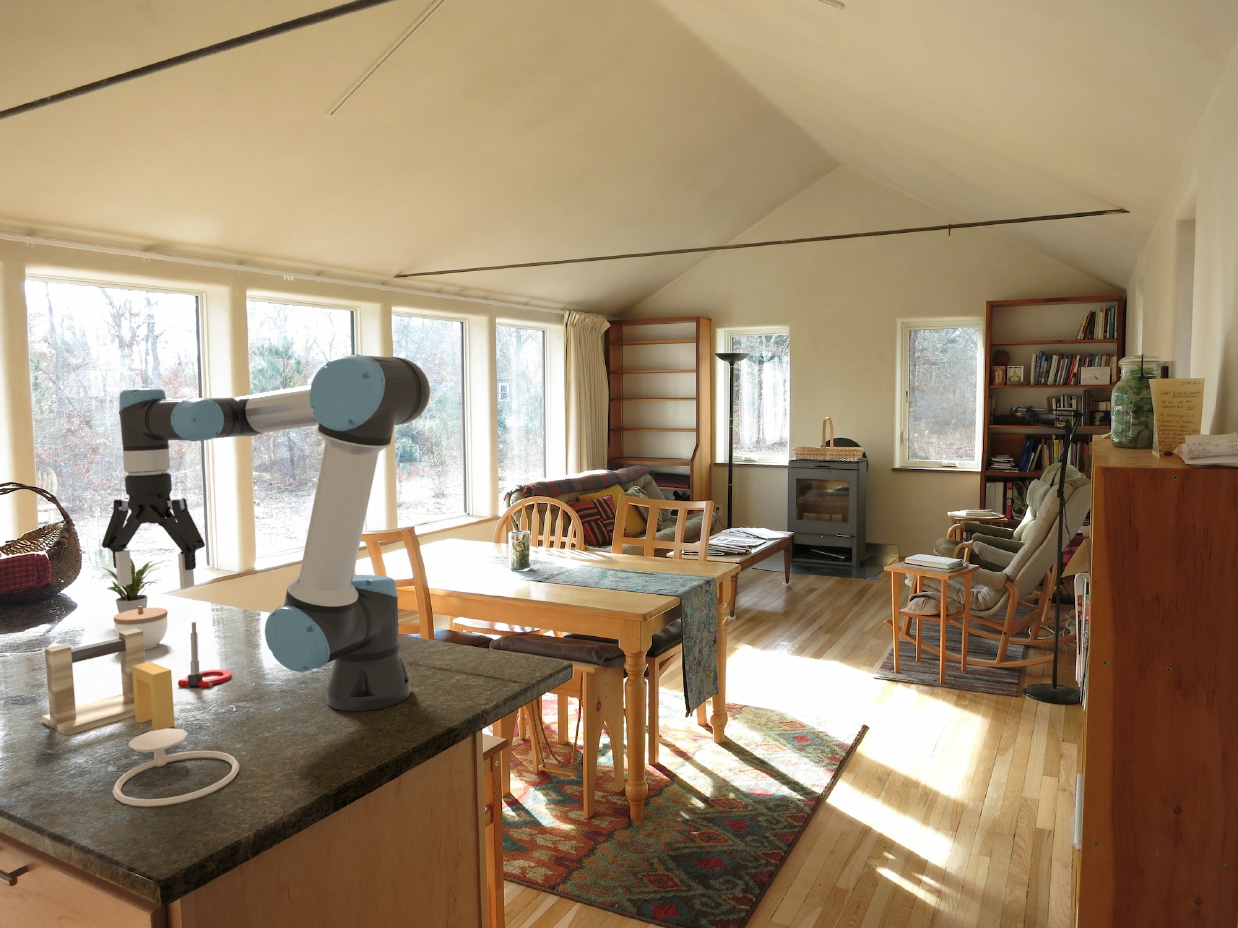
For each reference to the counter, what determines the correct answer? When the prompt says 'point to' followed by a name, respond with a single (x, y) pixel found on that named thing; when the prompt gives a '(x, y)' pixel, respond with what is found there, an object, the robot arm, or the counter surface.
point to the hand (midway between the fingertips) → (155, 586)
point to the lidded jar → (144, 624)
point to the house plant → (131, 589)
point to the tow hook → (196, 676)
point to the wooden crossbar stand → (62, 684)
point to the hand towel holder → (158, 744)
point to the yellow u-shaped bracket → (153, 695)
